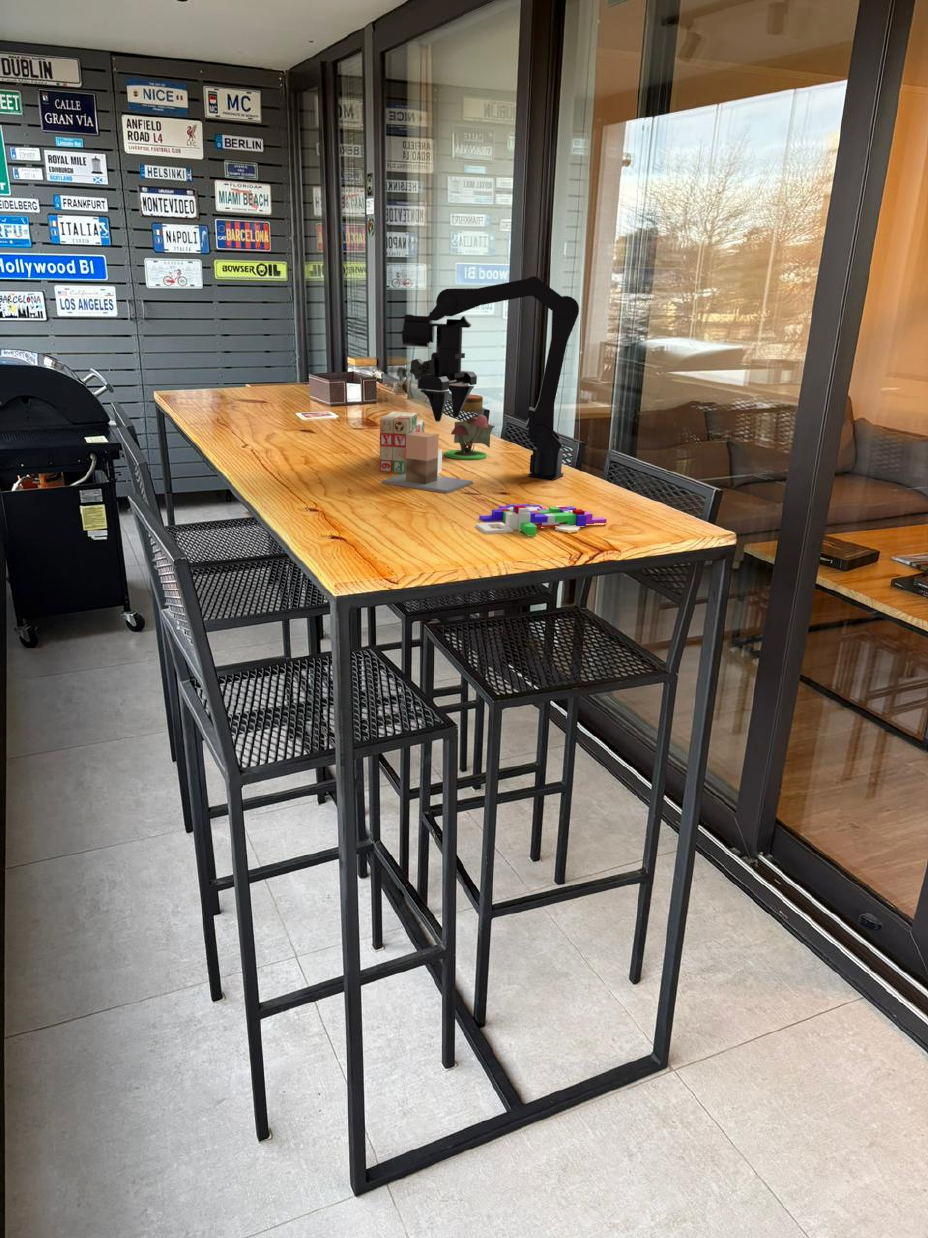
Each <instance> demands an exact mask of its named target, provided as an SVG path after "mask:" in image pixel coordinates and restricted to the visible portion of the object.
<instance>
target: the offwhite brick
mask: <svg viewBox="0 0 928 1238" xmlns="http://www.w3.org/2000/svg"><path fill="white" fill-rule="evenodd" d="M442 464H443V449H438V471H437V475H438V474H440V473H441V472H442V468H443V467H442V466H443V465H442Z"/></svg>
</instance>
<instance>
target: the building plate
mask: <svg viewBox="0 0 928 1238" xmlns="http://www.w3.org/2000/svg"><path fill="white" fill-rule="evenodd" d="M381 484H384V485H392V486H396V487H397V486H398V487H405V488H410V489H419V490H424V491H430V492H431V491H432V492H435V493H436V492H438V493H443V494H448V493H451V492H454V491H457V490H460V489H462V488H464V487H468V486H470V485H473V484H474V481H473V480H469V479H461V478H455V477H449V476H443V475H437V481H434V482H431V483H428V484H421V483H414V482H408V481H406V473H404V474H403V473H400V474H399V475H394V476H392V477H387V478H385V479H382V481H381Z"/></svg>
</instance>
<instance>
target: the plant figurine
mask: <svg viewBox="0 0 928 1238" xmlns="http://www.w3.org/2000/svg"><path fill="white" fill-rule="evenodd" d="M483 398H484V397H483V396H482V395H478V394H472V393H470V394H469V396H468V398H467V400H466V402H465V404H464V406H463V408H462V410H461V412H465V413H467V412H468V413H476V412H481V411H483V405H484V404H483V403H484V402H483V401H484V399H483ZM494 428H495V425H491V424H489V422H488V418H487V416H486V415H484V414H481V413H478V414H475V415H472V416H471V418H469V419H468V420H462V421H461V420H460V421H455V422H454V428H453V429H452V431H451V432H450V434H451V435H453V443H454V444H459V446H460V449H452V450H450V449H449V450H446V451H445V452H444V456H445V457H447V458H450V459H455V460H483V459H486V458H487V456H488V455H487V453H485V452H483V451H478V450H475V445H476V444H482V445H485V446H487V447H488V448H489V449H490V448H491V433H492V431H493V429H494Z"/></svg>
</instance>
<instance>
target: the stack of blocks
mask: <svg viewBox="0 0 928 1238" xmlns="http://www.w3.org/2000/svg"><path fill="white" fill-rule="evenodd" d="M415 432H424V433H425V420H422V419H420V420H419V419H418V413H417V412H405V411H391V412H389V413H388V414H385V416H383V417H381V418H380V419H379V473H391V474H392V473H393V474H404V473H406V445H407V434H411V433H415Z"/></svg>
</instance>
